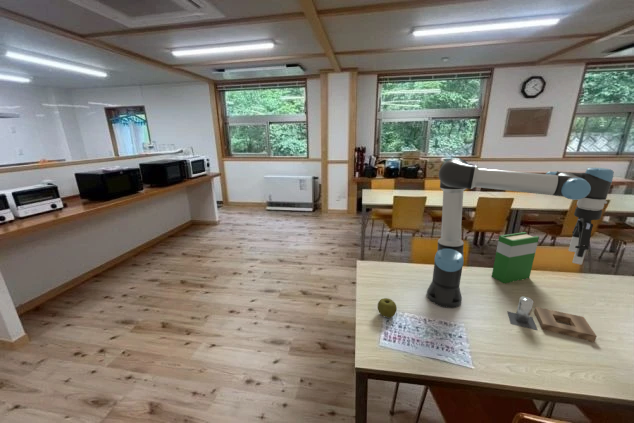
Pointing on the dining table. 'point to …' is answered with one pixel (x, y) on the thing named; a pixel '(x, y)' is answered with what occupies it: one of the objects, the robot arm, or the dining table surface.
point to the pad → (513, 321)
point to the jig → (575, 328)
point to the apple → (387, 307)
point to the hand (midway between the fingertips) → (574, 257)
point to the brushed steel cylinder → (524, 310)
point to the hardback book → (514, 257)
